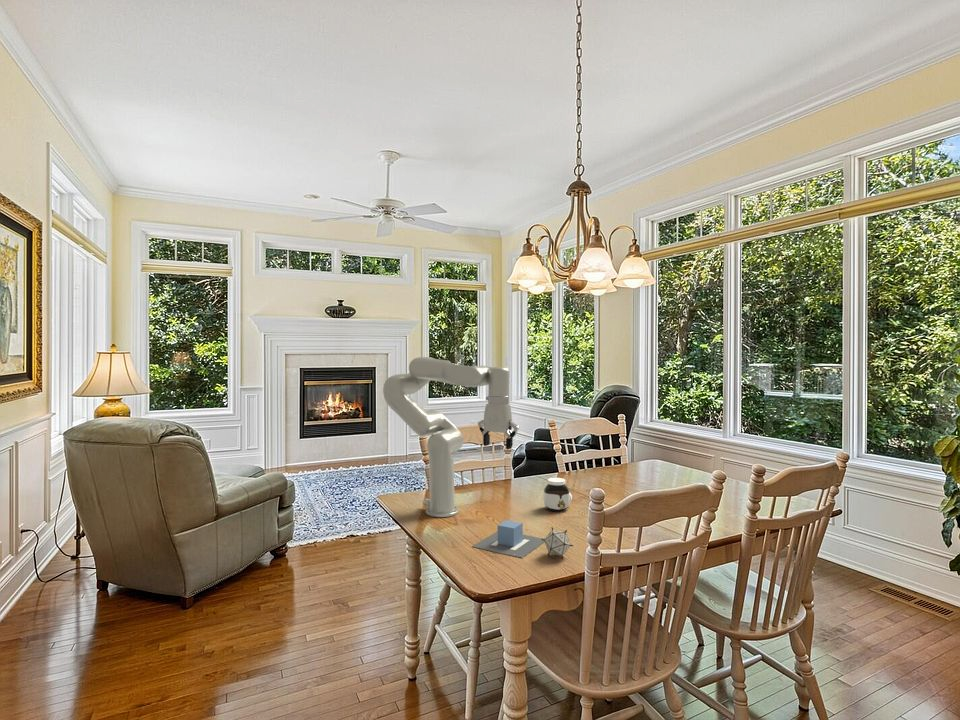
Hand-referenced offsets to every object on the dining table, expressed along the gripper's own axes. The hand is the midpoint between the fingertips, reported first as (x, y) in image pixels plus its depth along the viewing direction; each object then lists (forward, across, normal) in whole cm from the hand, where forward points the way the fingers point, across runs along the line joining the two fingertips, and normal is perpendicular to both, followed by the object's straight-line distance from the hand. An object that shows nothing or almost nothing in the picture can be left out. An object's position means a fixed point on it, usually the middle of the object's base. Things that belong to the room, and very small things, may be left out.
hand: (497, 447), depth 195 cm
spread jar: (+27, +13, +26) cm, 40 cm away
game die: (+26, +31, -17) cm, 44 cm away
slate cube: (+26, +16, -18) cm, 36 cm away
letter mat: (+27, +16, -18) cm, 36 cm away
